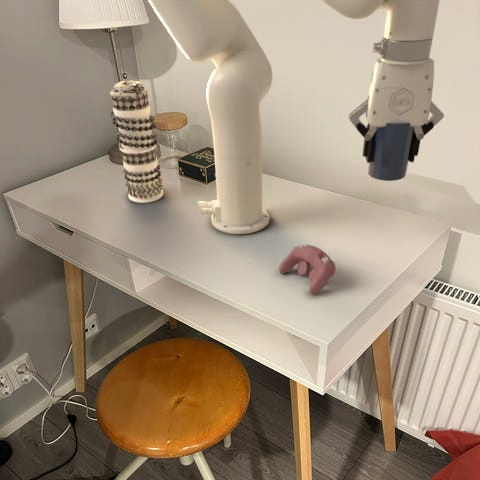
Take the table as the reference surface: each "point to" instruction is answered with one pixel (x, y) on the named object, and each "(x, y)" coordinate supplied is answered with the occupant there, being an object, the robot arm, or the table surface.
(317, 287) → the video game controller
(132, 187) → the decorative candle
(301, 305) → the table surface
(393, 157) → the cup
